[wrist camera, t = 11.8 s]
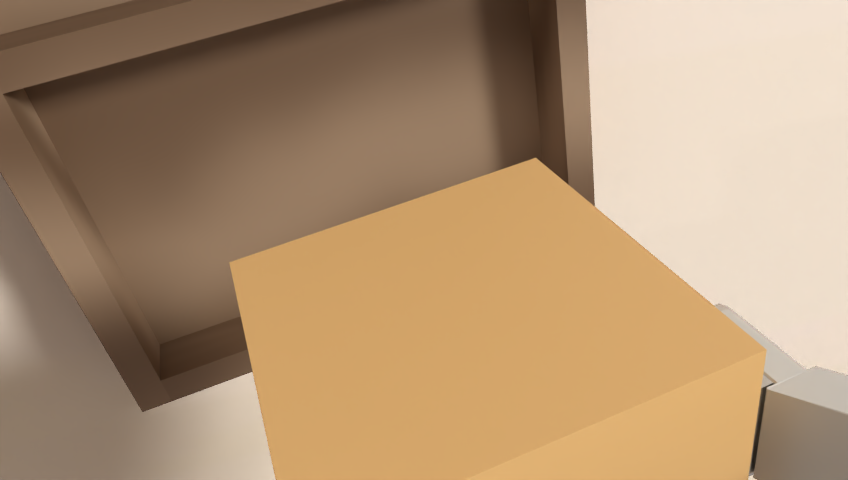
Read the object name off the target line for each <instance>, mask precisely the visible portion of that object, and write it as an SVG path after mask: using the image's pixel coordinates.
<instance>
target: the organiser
mask: <svg viewBox="0 0 848 480" xmlns="http://www.w3.org/2000/svg"><path fill="white" fill-rule="evenodd" d="M534 158H537V159H538V160H539V161H540V162H542V163H543V164H544V165H545V166H546V167H548V168H549V169H550V170H551V171H552V172H554V173H555V174H556V175H557V176H558V177H560V178H561V179H562V180H563V181H565V182H566V183H567V184H568V185H569V186H571V187H572V188H573V189H574V190H575V191H577V192H578V193H579V194H580V195H581V196H583V197H584V198H585V199H586V200H587V201H589V202H590V203H591V204H592V205H593V206H595V203H594V181H593V158H592V135H591V113H590V90H589V67H588V45H587V22H586V0H0V173H1V174H2V176H3V178H4V179H5V181H6V183H7V184H8V186H9V188H10V189H11V191H12V193H13V194H14V196H15V198H16V199H17V201H18V203H19V205H20V206H21V208H22V210H23V211H24V213H25V215H26V216H27V218H28V220H29V221H30V223H31V225H32V226H33V228H34V230H35V231H36V233H37V235H38V237H39V238H40V240H41V242H42V243H43V245H44V247H45V248H46V250H47V252H48V253H49V255H50V257H51V258H52V260H53V262H54V263H55V265H56V267H57V269H58V270H59V272H60V274H61V275H62V277H63V279H64V280H65V282H66V284H67V285H68V287H69V289H70V290H71V292H72V294H73V295H74V297H75V299H76V301H77V302H78V304H79V306H80V307H81V309H82V311H83V312H84V314H85V316H86V317H87V319H88V321H89V322H90V324H91V326H92V327H93V329H94V331H95V333H96V334H97V336H98V338H99V339H100V341H101V343H102V344H103V346H104V348H105V349H106V351H107V353H108V354H109V356H110V358H111V359H112V361H113V363H114V365H115V366H116V368H117V370H118V371H119V373H120V375H121V376H122V378H123V380H124V381H125V383H126V385H127V386H128V388H129V390H130V391H131V393H132V395H133V397H134V398H135V400H136V402H137V403H138V405H139V407H140V408H141V410H142V412H144V411H146V410H149V409H152V408H155V407H157V406H160V405H163V404H166V403H168V402H171V401H174V400H176V399H179V398H182V397H185V396H187V395H190V394H193V393H195V392H198V391H201V390H204V389H206V388H209V387H212V386H215V385H217V384H220V383H223V382H225V381H228V380H231V379H234V378H236V377H239V376H242V375H244V374H247V373H250V372H253V371H252V366H251V362H250V357H249V352H248V348H247V343H246V338H245V334H244V329H243V324H242V320H241V315H240V310H239V306H238V301H237V296H236V292H235V287H234V282H233V278H232V273H231V268H230V264H229V262H232V261H235V260H238V259H240V258H243V257H246V256H249V255H252V254H255V253H258V252H261V251H264V250H267V249H270V248H273V247H276V246H279V245H281V244H284V243H287V242H290V241H293V240H296V239H299V238H302V237H305V236H308V235H311V234H314V233H317V232H320V231H323V230H325V229H328V228H331V227H334V226H337V225H340V224H343V223H346V222H349V221H352V220H355V219H358V218H361V217H364V216H366V215H369V214H372V213H375V212H378V211H381V210H384V209H387V208H390V207H393V206H396V205H399V204H402V203H405V202H407V201H410V200H413V199H416V198H419V197H422V196H425V195H428V194H431V193H434V192H437V191H440V190H443V189H446V188H449V187H451V186H454V185H457V184H460V183H463V182H466V181H469V180H472V179H475V178H478V177H481V176H484V175H487V174H490V173H492V172H495V171H498V170H501V169H504V168H507V167H510V166H513V165H516V164H519V163H522V162H525V161H528V160H531V159H534Z"/></svg>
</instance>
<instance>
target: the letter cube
mask: <svg viewBox="0 0 848 480" xmlns="http://www.w3.org/2000/svg"><path fill="white" fill-rule="evenodd" d="M229 264H230V268H231V273H232V278H233V282H234V287H235V292H236V296H237V301H238V306H239V310H240V315H241V320H242V324H243V329H244V334H245V338H246V343H247V348H248V352H249V357H250V362H251V366H252V371H253V376H254V380H255V385H256V390H257V394H258V399H259V404H260V408H261V413H262V418H263V422H264V427H265V432H266V436H267V441H268V446H269V450H270V455H271V460H272V464H273V469H274V473H275V478H276V480H748V476H749V469H750V462H751V455H752V449H753V442H754V435H755V428H756V421H757V414H758V407H759V400H760V393H761V386H762V379H763V373H764V366H765V359H766V352H767V349H765V348H764V347H763V346H762V345H761V344H759V343H758V342H757V341H756V340H755V339H753V338H752V337H751V336H750V335H749V334H747V333H746V332H745V331H744V330H743V329H741V328H740V327H739V326H738V325H737V324H735V323H734V322H733V321H732V320H731V319H729V318H728V317H727V316H726V315H724V314H723V313H722V312H721V311H720V310H718V309H717V308H716V307H715V306H714V305H712V304H711V303H710V302H709V301H708V300H706V299H705V298H704V297H703V296H702V295H700V294H699V293H698V292H697V291H696V290H694V289H693V288H692V287H691V286H690V285H688V284H687V283H686V282H685V281H684V280H682V279H681V278H680V277H679V276H678V275H676V274H675V273H674V272H673V271H672V270H670V269H669V268H668V267H667V266H666V265H664V264H663V263H662V262H661V261H660V260H658V259H657V258H656V257H655V256H654V255H652V254H651V253H650V252H649V251H648V250H646V249H645V248H644V247H643V246H641V245H640V244H639V243H638V242H637V241H635V240H634V239H633V238H632V237H631V236H629V235H628V234H627V233H626V232H625V231H623V230H622V229H621V228H620V227H619V226H617V225H616V224H615V223H614V222H613V221H611V220H610V219H609V218H608V217H607V216H605V215H604V214H603V213H602V212H601V211H599V210H598V209H597V208H596V207H595V206H593V205H592V204H591V203H590V202H589V201H587V200H586V199H585V198H584V197H583V196H581V195H580V194H579V193H578V192H577V191H575V190H574V189H573V188H572V187H571V186H569V185H568V184H567V183H566V182H565V181H563V180H562V179H561V178H560V177H558V176H557V175H556V174H555V173H554V172H552V171H551V170H550V169H549V168H548V167H546V166H545V165H544V164H543V163H542V162H540V161H539V160H538V159H537V158H534V159H531V160H528V161H525V162H522V163H519V164H516V165H513V166H510V167H507V168H504V169H501V170H498V171H495V172H492V173H490V174H487V175H484V176H481V177H478V178H475V179H472V180H469V181H466V182H463V183H460V184H457V185H454V186H451V187H449V188H446V189H443V190H440V191H437V192H434V193H431V194H428V195H425V196H422V197H419V198H416V199H413V200H410V201H407V202H405V203H402V204H399V205H396V206H393V207H390V208H387V209H384V210H381V211H378V212H375V213H372V214H369V215H366V216H364V217H361V218H358V219H355V220H352V221H349V222H346V223H343V224H340V225H337V226H334V227H331V228H328V229H325V230H323V231H320V232H317V233H314V234H311V235H308V236H305V237H302V238H299V239H296V240H293V241H290V242H287V243H284V244H281V245H279V246H276V247H273V248H270V249H267V250H264V251H261V252H258V253H255V254H252V255H249V256H246V257H243V258H240V259H238V260H235V261H232V262H229Z"/></svg>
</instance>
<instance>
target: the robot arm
mask: <svg viewBox="0 0 848 480" xmlns="http://www.w3.org/2000/svg"><path fill="white" fill-rule="evenodd" d="M715 307H716V308H717V309H718V310H720V311H721V312H722V313H723V314H724V315H726V316H727V317H728V318H729V319H731V320H732V321H733V322H734V323H735V324H737V325H738V326H739V327H740V328H741V329H743V330H744V331H745V332H746V333H747V334H749V335H750V336H751V337H752V338H753V339H755V340H756V341H757V342H758V343H759V344H761V345H762V346H763V347H764V348H765V349H767V352H766V359H765V366H764V373H763V379H762V386H761V393H760V400H759V407H758V414H757V421H756V428H755V435H754V442H753V449H752V455H751V462H750V469H749V476H751V475H753V474H754V476H753V478H755V479H757V480H848V375H845V374H842V373H838V372H835V371H831V370H827V369H824V368H820V367H817V366H815V367H812V368H810V369H805V368H804V367H803V366H802V365H801V364H799V363H798V362H797V361H796V360H794V359H793V358H792V357H791V356H789V355H788V354H787V353H786V352H784V351H783V350H782V349H781V348H779V347H778V346H777V345H776V344H774V343H773V342H772V341H771V340H769V339H768V338H767V337H766V336H764V335H763V334H762V333H761V332H759V331H758V330H757V329H756V328H754V327H753V326H752V325H751V324H749V323H748V322H747V321H746V320H744V319H743V318H742V317H741V316H739V315H738V314H737V313H736V312H734V311H733V310H732V309H731V308H729V307H728V306H725V305H722V304H717V305H715Z"/></svg>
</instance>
